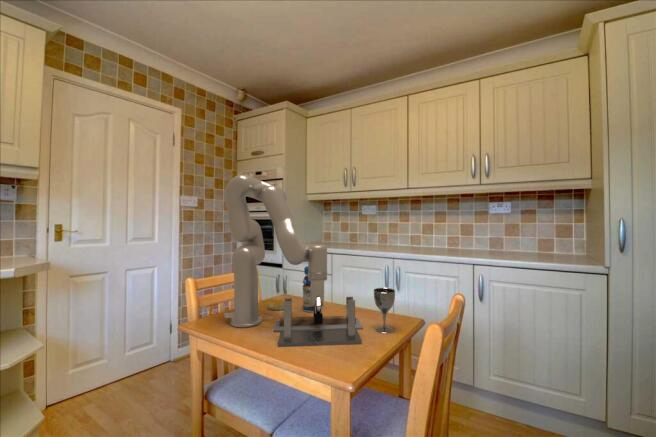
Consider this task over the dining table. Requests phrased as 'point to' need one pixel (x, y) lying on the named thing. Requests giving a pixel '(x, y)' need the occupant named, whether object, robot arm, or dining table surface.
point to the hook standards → (319, 336)
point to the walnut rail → (310, 321)
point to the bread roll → (276, 305)
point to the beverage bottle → (307, 293)
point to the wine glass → (384, 305)
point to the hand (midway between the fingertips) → (317, 319)
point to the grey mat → (316, 327)
